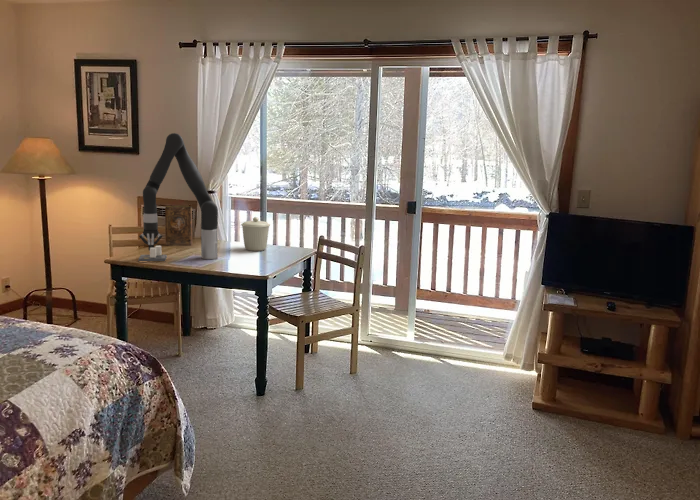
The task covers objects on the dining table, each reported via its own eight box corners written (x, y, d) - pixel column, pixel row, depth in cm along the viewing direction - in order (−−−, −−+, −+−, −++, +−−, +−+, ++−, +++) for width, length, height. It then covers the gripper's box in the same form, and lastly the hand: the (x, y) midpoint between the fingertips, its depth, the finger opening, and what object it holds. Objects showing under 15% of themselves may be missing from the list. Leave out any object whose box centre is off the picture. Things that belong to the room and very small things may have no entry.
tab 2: (161, 254, 322) (161, 245, 321) (160, 255, 318) (160, 246, 317) (156, 254, 321) (155, 245, 320) (155, 255, 318) (155, 246, 317)
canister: (235, 248, 359) (235, 216, 354) (259, 246, 370) (260, 214, 366) (250, 253, 345) (251, 219, 341) (275, 250, 357) (275, 218, 353)
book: (192, 243, 367) (191, 206, 362) (192, 245, 362) (191, 207, 357) (166, 244, 363) (165, 205, 358) (165, 245, 358) (164, 207, 353)
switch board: (166, 257, 324) (166, 254, 323) (165, 261, 314) (164, 258, 313) (141, 258, 321) (141, 254, 320) (138, 262, 311) (138, 258, 310)
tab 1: (156, 256, 316) (156, 247, 315) (155, 257, 313) (155, 248, 312) (150, 256, 316) (150, 247, 315) (150, 257, 312) (149, 248, 311)
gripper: (163, 220, 320) (164, 250, 324) (139, 220, 317) (140, 249, 321) (162, 222, 313) (162, 252, 316) (137, 222, 310) (138, 252, 314)
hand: (151, 251), depth 319 cm, fingers closed
